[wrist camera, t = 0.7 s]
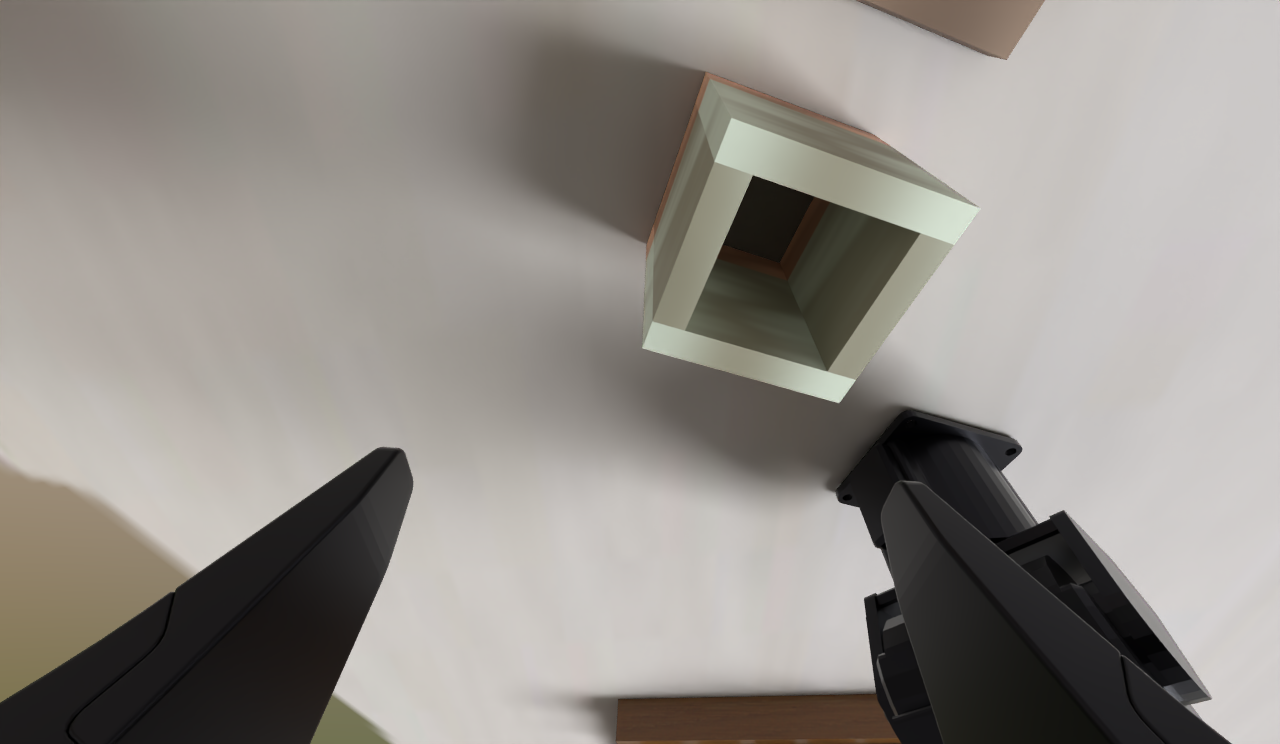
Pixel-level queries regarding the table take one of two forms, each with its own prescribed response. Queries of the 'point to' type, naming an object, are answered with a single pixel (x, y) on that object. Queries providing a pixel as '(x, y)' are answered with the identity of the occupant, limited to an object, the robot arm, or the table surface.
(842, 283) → the sleeve
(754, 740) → the chess set
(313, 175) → the table surface
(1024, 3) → the pin board
